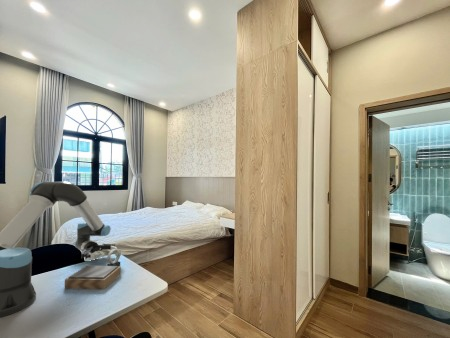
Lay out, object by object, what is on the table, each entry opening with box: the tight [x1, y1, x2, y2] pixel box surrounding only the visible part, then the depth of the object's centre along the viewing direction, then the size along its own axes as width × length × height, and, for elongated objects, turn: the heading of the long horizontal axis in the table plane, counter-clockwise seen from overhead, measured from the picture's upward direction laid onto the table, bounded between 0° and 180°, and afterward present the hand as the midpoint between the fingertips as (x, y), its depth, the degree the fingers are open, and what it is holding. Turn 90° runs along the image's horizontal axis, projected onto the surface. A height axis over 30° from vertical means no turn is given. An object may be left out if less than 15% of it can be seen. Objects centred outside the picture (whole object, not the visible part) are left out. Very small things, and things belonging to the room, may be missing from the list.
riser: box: [64, 265, 122, 290], centre depth 102 cm, size 20×14×5 cm
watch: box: [106, 248, 122, 267], centre depth 117 cm, size 6×8×11 cm
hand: (105, 253), depth 123 cm, fingers open, 13 cm apart
